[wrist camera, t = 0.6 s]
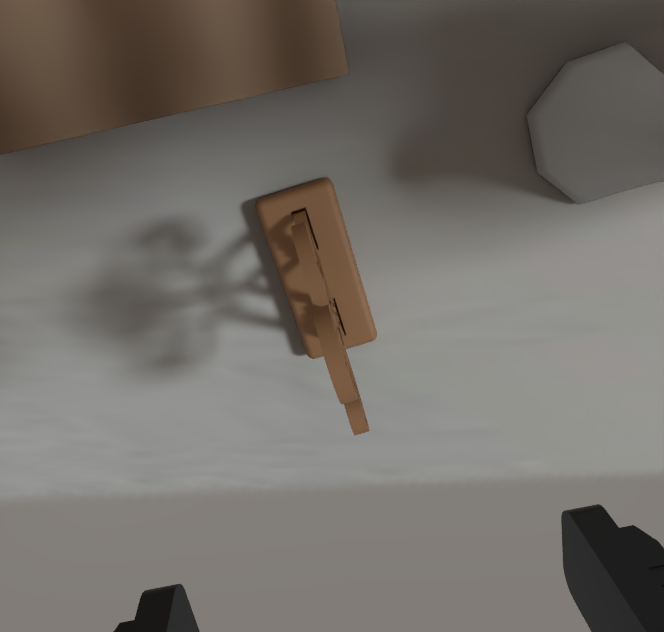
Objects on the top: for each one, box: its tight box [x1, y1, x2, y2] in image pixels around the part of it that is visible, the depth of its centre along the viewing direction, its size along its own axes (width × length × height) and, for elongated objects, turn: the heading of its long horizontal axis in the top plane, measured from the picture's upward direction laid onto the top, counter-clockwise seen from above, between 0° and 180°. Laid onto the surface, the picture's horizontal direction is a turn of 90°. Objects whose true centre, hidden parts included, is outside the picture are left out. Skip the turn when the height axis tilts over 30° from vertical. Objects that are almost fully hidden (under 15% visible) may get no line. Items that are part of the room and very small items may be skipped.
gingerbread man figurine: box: [256, 178, 377, 435], centre depth 26 cm, size 9×4×12 cm, turn 17°
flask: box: [526, 42, 664, 204], centre depth 25 cm, size 7×7×10 cm
